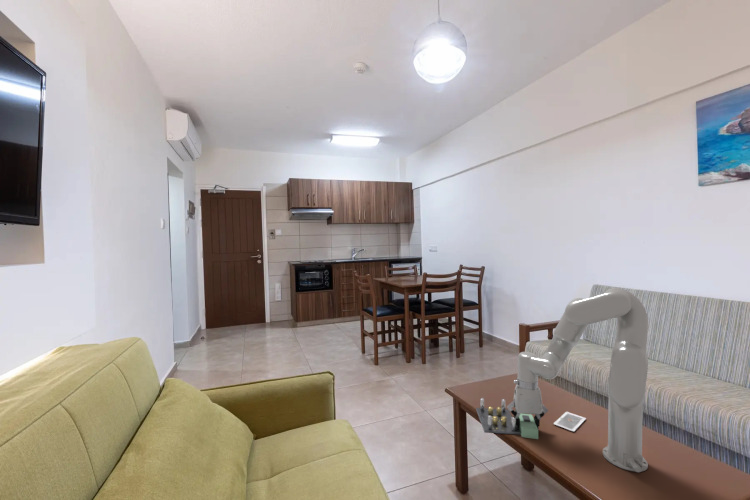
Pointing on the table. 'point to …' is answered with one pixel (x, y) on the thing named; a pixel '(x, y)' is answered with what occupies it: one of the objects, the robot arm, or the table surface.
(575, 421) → the touchpad
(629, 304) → the robot arm
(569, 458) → the table surface
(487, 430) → the chassis
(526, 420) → the green block
